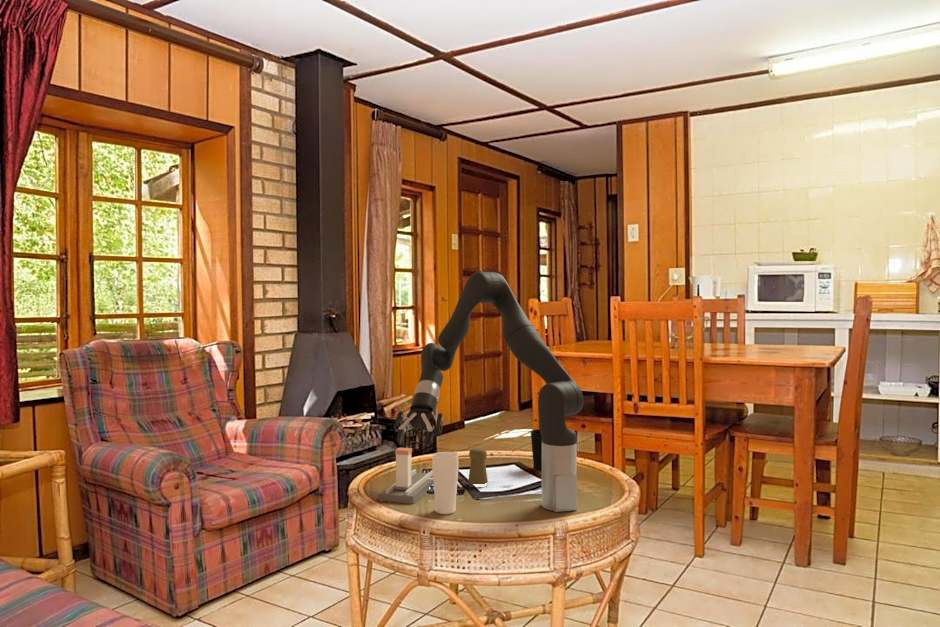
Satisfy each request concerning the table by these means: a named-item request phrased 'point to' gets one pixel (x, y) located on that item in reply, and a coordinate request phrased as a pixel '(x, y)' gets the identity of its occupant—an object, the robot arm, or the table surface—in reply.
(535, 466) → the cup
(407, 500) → the fader board
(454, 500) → the drinking glass
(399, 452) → the fader tab
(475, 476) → the cork
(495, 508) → the table surface
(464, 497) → the table surface
